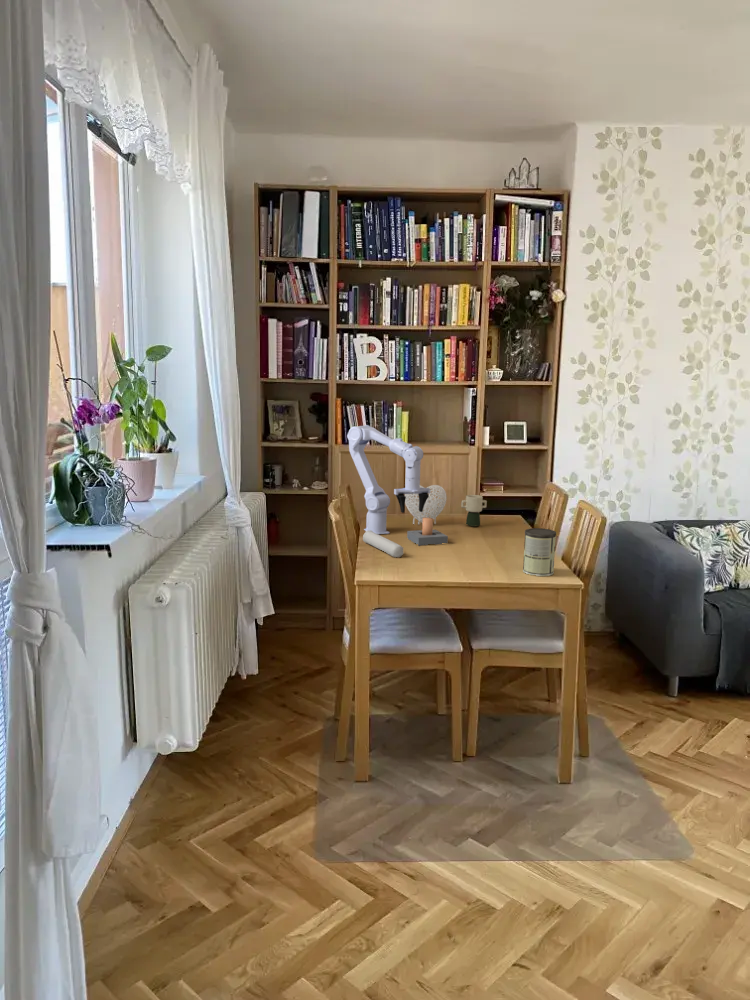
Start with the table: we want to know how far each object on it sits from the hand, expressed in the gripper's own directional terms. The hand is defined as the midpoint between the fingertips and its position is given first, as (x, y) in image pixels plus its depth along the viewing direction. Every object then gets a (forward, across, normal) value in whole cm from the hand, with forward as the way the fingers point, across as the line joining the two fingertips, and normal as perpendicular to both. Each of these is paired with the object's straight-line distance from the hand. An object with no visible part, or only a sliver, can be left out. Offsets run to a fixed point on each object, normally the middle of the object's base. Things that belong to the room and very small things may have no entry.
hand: (411, 511), depth 302 cm
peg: (+10, +4, -7) cm, 13 cm away
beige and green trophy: (+11, +34, +14) cm, 38 cm away
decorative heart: (+11, +15, +22) cm, 29 cm away
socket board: (+10, +4, -7) cm, 13 cm away
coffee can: (+11, +23, -58) cm, 63 cm away
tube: (+11, -17, -16) cm, 26 cm away
